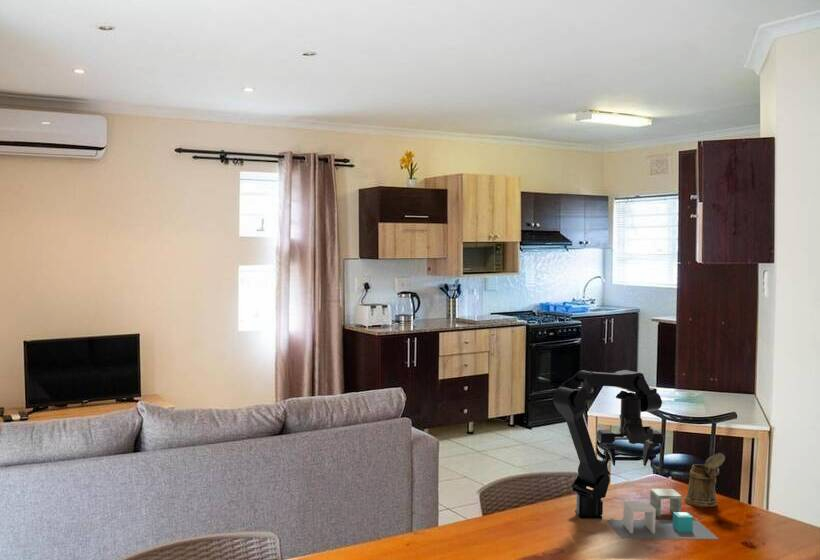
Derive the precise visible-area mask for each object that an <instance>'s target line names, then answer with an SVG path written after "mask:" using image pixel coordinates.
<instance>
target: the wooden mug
mask: <svg viewBox="0 0 820 560" xmlns="http://www.w3.org/2000/svg"><path fill="white" fill-rule="evenodd" d="M725 460H726V455H725V453H722V452H720V451H719V452H716V453H714V454H711V455H710V456H708V457H707V458H706V459H705V461H704V464H702V463H701V464H699V463H697V464H695V463H694V464H692V465H691V469H690V470H689V481H688V484H687V485H688V486H687V491H686V495H685V497H684V499H685V500H684V502H685V503H686V504H688V505H690V506H697V507H703V508H710V507H711V508H712V507H716V506H718V499H717V495H716V483H717V473H716V470H717V469H718V468H719V467H721V466H722V464H723V463H724V462H725Z"/></svg>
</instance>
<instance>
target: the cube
mask: <svg viewBox="0 0 820 560" xmlns="http://www.w3.org/2000/svg"><path fill="white" fill-rule="evenodd" d="M672 520H673V527H674V528H675V529H676V530H677V531H678V532H693V520H694V516H693V515H691V514H690V513H689V512H687V511H681V512H672Z"/></svg>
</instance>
